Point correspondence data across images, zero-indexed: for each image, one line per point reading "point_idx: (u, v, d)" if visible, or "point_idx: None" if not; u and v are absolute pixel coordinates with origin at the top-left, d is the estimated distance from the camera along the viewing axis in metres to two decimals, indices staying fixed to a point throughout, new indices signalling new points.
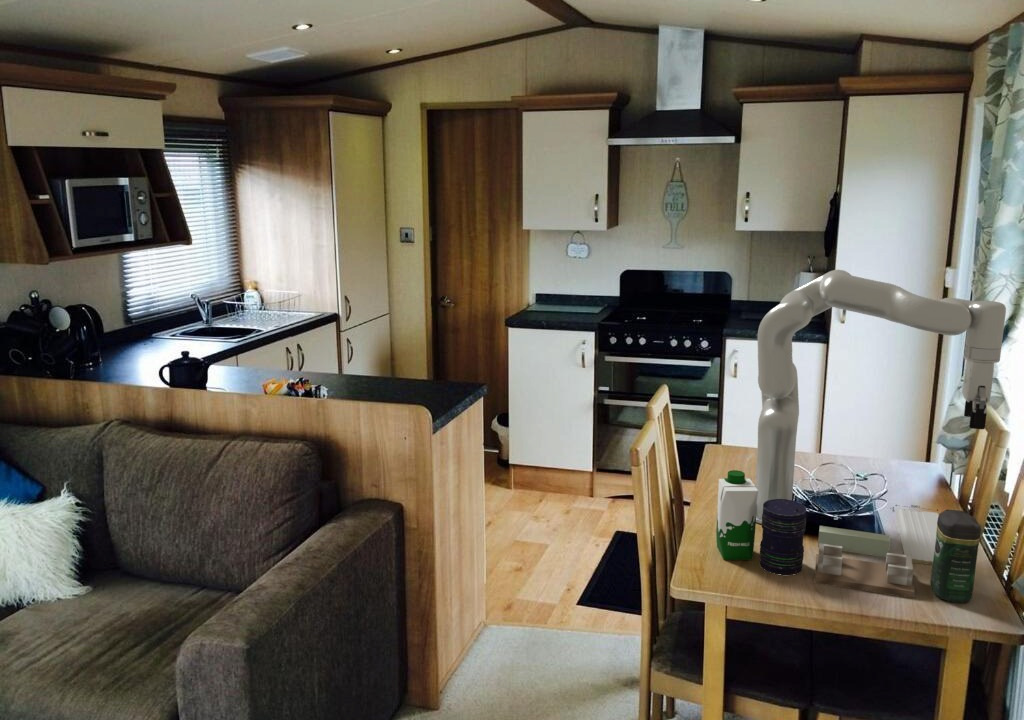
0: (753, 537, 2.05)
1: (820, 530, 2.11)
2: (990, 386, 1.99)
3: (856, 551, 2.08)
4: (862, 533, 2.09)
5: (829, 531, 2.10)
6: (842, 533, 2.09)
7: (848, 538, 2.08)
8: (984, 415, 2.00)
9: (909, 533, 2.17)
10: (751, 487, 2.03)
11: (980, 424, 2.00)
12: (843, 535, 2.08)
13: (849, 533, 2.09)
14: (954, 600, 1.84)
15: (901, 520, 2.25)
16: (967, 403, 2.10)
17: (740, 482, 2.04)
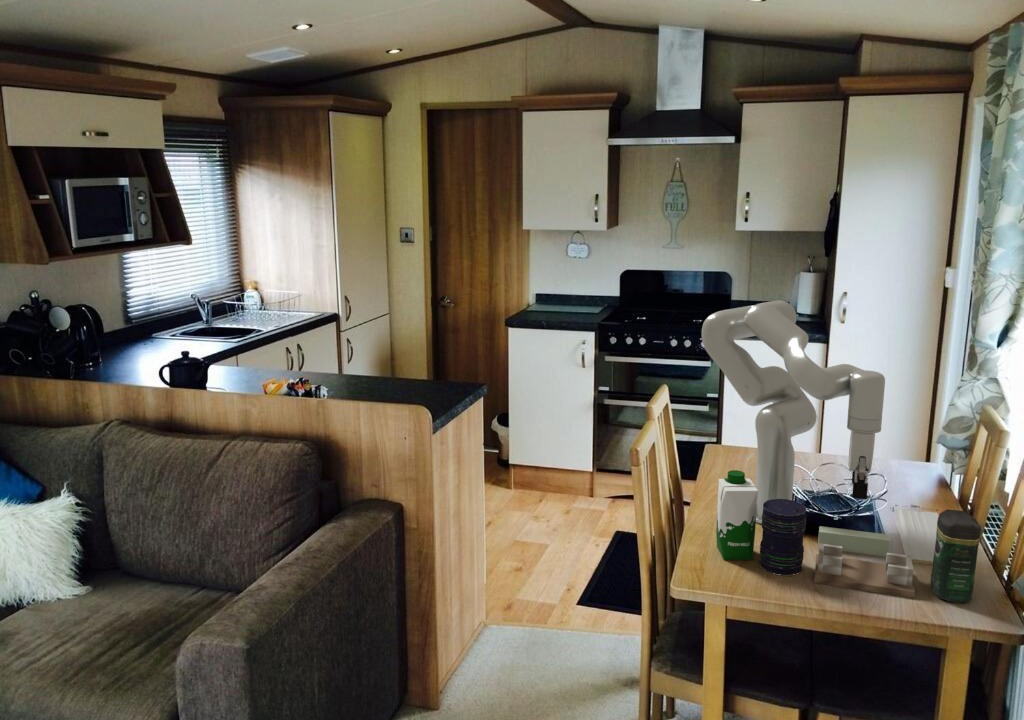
0: (753, 537, 2.05)
1: (820, 531, 2.11)
2: (870, 457, 1.99)
3: (856, 551, 2.08)
4: (862, 532, 2.09)
5: (829, 531, 2.10)
6: (842, 533, 2.09)
7: (848, 538, 2.08)
8: (866, 485, 2.00)
9: (909, 533, 2.16)
10: (751, 487, 2.03)
11: (862, 494, 2.00)
12: (843, 535, 2.08)
13: (849, 533, 2.09)
14: (954, 600, 1.84)
15: (901, 520, 2.25)
16: (854, 470, 2.10)
17: (740, 482, 2.04)
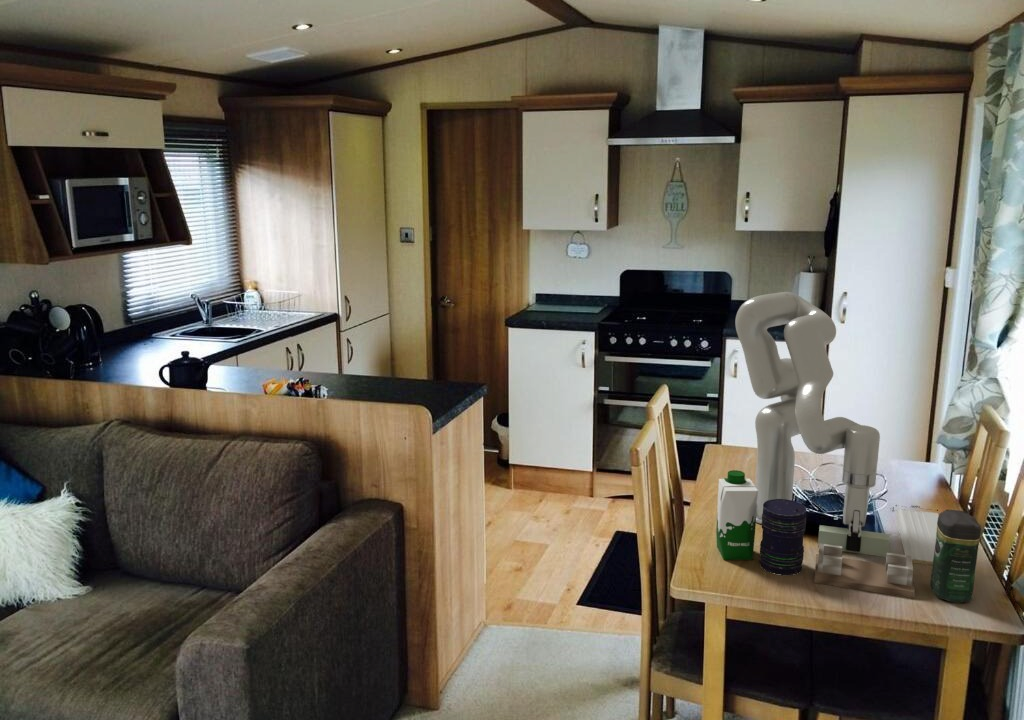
0: (753, 537, 2.05)
1: (820, 529, 2.11)
2: (865, 511, 2.02)
3: None
4: (862, 532, 2.09)
5: (829, 530, 2.10)
6: (842, 532, 2.09)
7: None
8: (859, 538, 2.07)
9: (909, 533, 2.16)
10: (751, 487, 2.03)
11: (855, 547, 2.07)
12: (843, 534, 2.08)
13: None
14: (954, 600, 1.84)
15: (901, 521, 2.25)
16: None
17: (740, 482, 2.04)
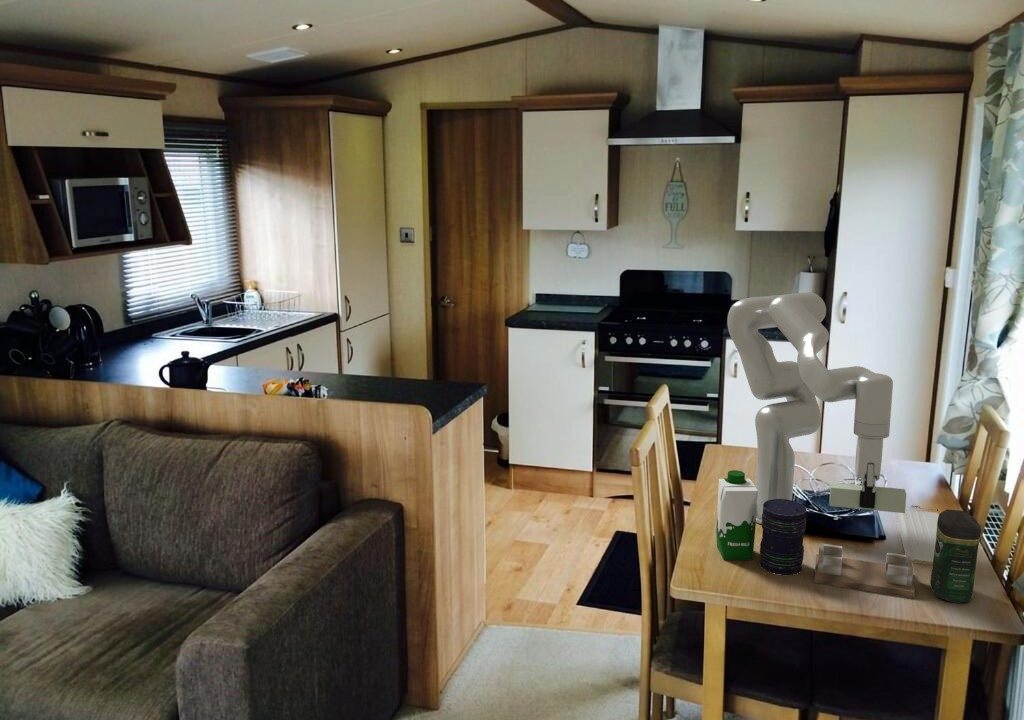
0: (753, 537, 2.05)
1: (832, 486, 1.98)
2: (879, 463, 1.90)
3: None
4: (876, 487, 1.97)
5: (841, 487, 1.98)
6: (855, 488, 1.97)
7: None
8: (873, 494, 1.94)
9: (910, 533, 2.16)
10: (751, 487, 2.03)
11: (869, 503, 1.94)
12: (856, 490, 1.96)
13: None
14: (954, 600, 1.84)
15: (901, 521, 2.25)
16: None
17: (740, 482, 2.04)
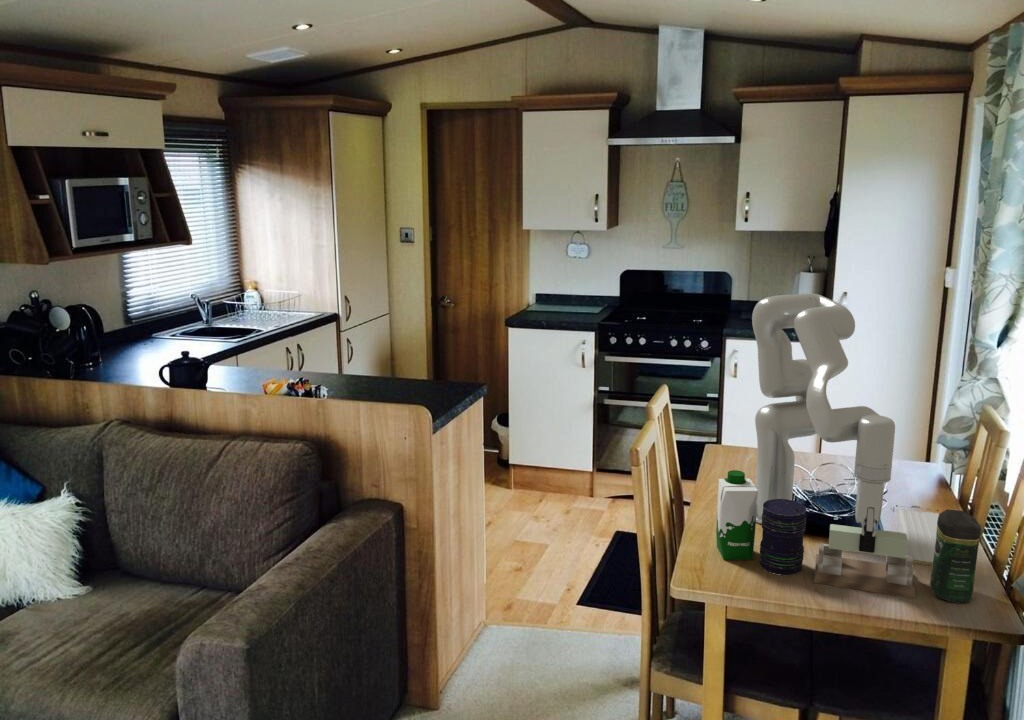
0: (753, 537, 2.05)
1: (831, 529, 1.94)
2: (879, 508, 1.86)
3: None
4: (876, 531, 1.93)
5: (841, 530, 1.94)
6: (855, 531, 1.93)
7: None
8: (873, 538, 1.90)
9: (910, 533, 2.16)
10: (751, 487, 2.03)
11: (869, 548, 1.90)
12: (856, 534, 1.92)
13: None
14: (954, 600, 1.84)
15: (901, 521, 2.25)
16: None
17: (740, 482, 2.04)
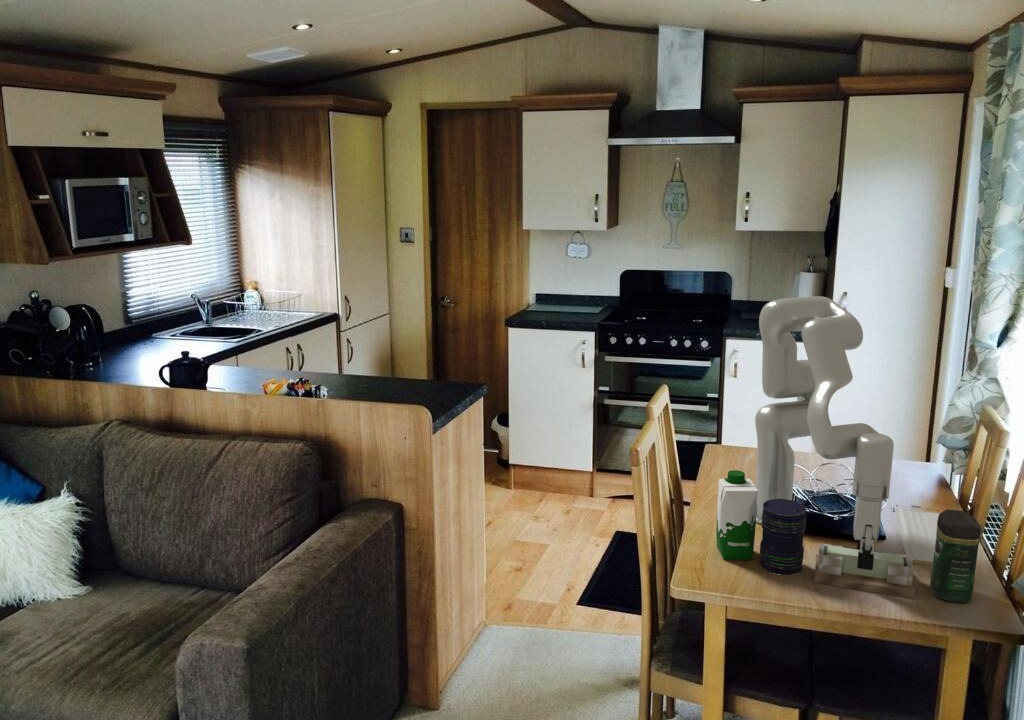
0: (753, 537, 2.05)
1: (828, 551, 1.96)
2: (877, 525, 1.87)
3: (867, 573, 1.93)
4: None
5: (838, 552, 1.95)
6: (852, 554, 1.94)
7: None
8: (872, 556, 1.89)
9: (910, 533, 2.16)
10: (751, 487, 2.03)
11: (867, 565, 1.89)
12: (853, 556, 1.94)
13: None
14: (954, 600, 1.84)
15: (901, 521, 2.25)
16: None
17: (740, 482, 2.04)
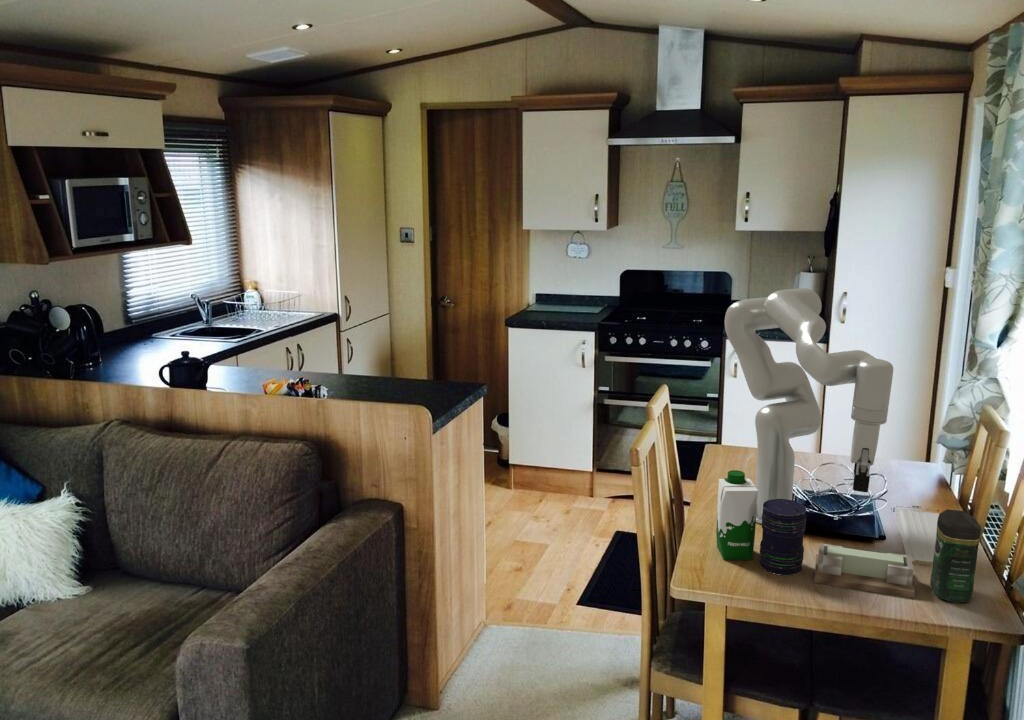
0: (753, 537, 2.05)
1: (828, 551, 1.96)
2: (874, 449, 1.91)
3: (867, 573, 1.93)
4: (873, 553, 1.94)
5: (838, 552, 1.95)
6: (852, 554, 1.94)
7: (859, 559, 1.93)
8: (867, 478, 1.92)
9: (910, 533, 2.16)
10: (751, 487, 2.03)
11: (863, 487, 1.93)
12: (853, 556, 1.94)
13: (860, 554, 1.94)
14: (954, 600, 1.84)
15: (902, 521, 2.24)
16: None
17: (740, 482, 2.04)
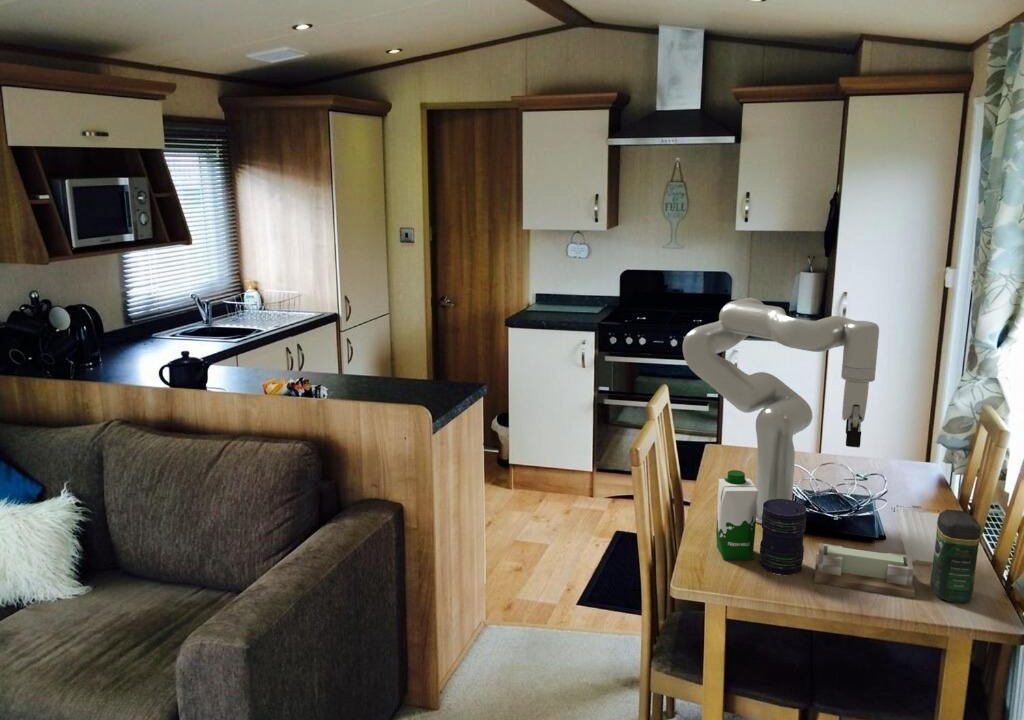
0: (753, 537, 2.05)
1: (828, 551, 1.96)
2: (864, 405, 2.02)
3: (867, 573, 1.93)
4: (873, 553, 1.94)
5: (838, 552, 1.95)
6: (852, 554, 1.94)
7: (859, 559, 1.93)
8: (859, 433, 2.03)
9: (911, 533, 2.16)
10: (751, 487, 2.03)
11: (855, 442, 2.03)
12: (853, 556, 1.94)
13: (860, 554, 1.94)
14: (954, 600, 1.84)
15: (902, 521, 2.24)
16: (848, 421, 2.13)
17: (740, 482, 2.04)
